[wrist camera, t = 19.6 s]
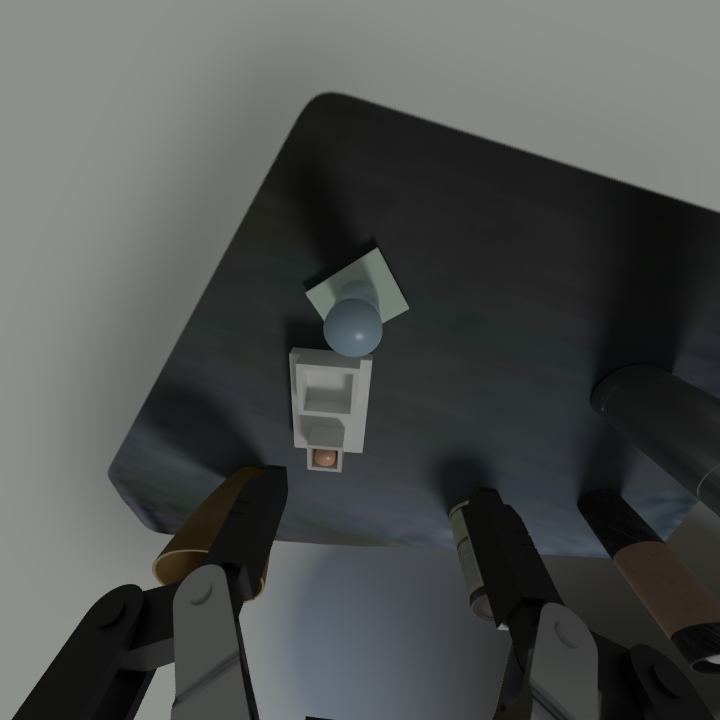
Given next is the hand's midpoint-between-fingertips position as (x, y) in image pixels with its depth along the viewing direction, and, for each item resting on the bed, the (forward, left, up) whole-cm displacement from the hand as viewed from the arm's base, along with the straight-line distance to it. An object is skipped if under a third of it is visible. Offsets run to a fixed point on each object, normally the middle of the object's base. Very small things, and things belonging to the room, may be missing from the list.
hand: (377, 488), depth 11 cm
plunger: (+5, +20, -23) cm, 31 cm away
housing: (+5, +14, -25) cm, 29 cm away
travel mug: (-45, +32, -25) cm, 61 cm away
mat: (+2, -2, -25) cm, 25 cm away
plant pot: (+19, +34, -25) cm, 47 cm away
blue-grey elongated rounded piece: (+2, -2, -24) cm, 24 cm away
